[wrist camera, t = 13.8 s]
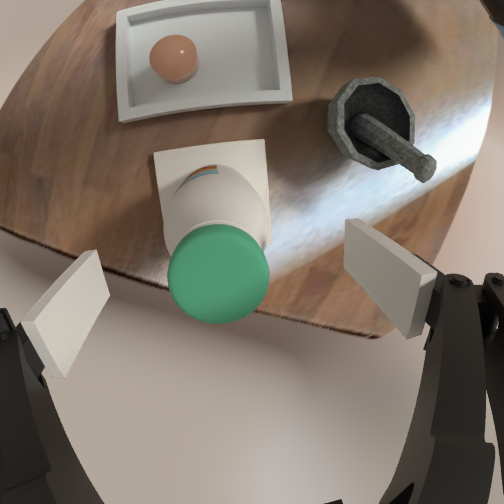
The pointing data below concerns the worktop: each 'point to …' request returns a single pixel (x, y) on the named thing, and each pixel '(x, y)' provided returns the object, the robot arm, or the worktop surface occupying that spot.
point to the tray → (203, 56)
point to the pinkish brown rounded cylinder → (174, 59)
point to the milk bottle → (217, 245)
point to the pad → (228, 153)
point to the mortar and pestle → (377, 127)
